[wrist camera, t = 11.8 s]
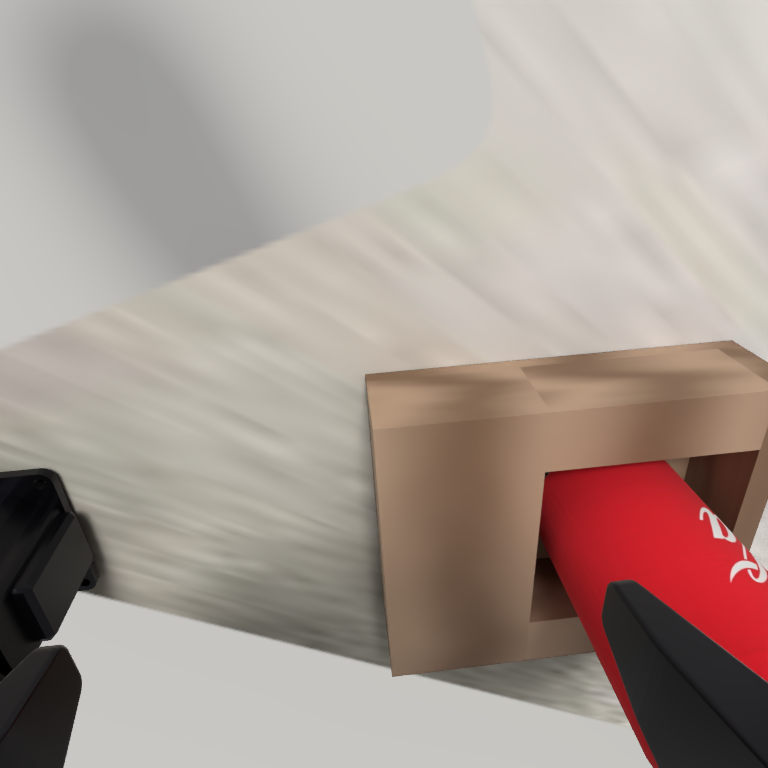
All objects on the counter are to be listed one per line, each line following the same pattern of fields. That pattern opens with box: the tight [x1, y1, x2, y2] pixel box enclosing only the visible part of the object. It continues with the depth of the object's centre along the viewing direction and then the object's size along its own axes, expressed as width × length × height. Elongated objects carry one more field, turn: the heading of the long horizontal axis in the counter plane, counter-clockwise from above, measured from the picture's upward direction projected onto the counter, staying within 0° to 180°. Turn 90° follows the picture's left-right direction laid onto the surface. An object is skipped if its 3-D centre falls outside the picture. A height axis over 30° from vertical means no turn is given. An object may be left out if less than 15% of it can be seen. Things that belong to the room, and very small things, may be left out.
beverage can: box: [539, 460, 768, 768], centre depth 19 cm, size 6×6×12 cm
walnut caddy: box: [365, 340, 768, 677], centre depth 23 cm, size 15×13×4 cm
